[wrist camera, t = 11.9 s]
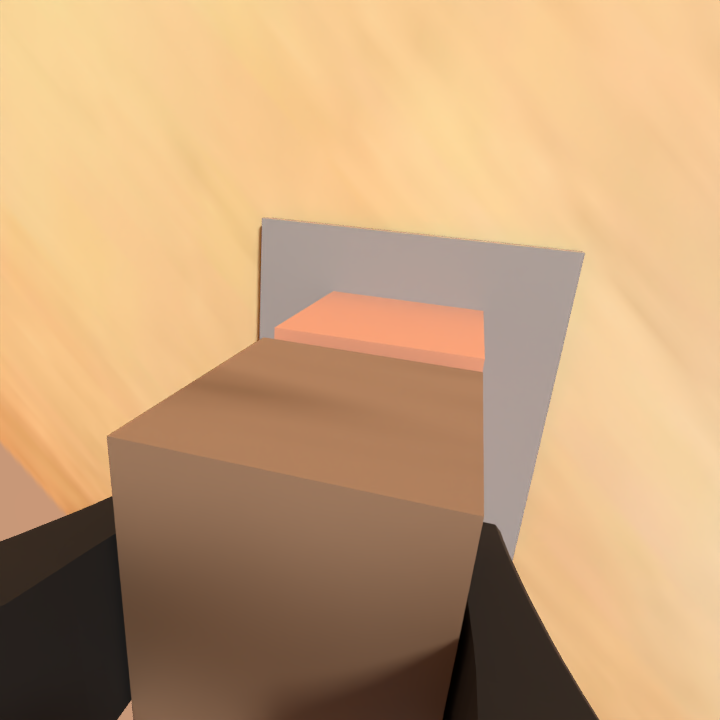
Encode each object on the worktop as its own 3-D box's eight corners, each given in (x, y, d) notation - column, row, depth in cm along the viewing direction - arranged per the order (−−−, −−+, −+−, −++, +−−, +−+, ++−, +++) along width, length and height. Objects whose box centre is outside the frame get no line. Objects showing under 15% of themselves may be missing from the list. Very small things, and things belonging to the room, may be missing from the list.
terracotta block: (452, 492, 16) (442, 597, 12) (321, 466, 17) (267, 555, 12) (483, 310, 14) (484, 358, 10) (333, 291, 15) (274, 327, 10)
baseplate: (511, 554, 16) (511, 562, 16) (260, 498, 18) (256, 504, 18) (581, 251, 13) (584, 253, 13) (267, 217, 15) (262, 217, 14)
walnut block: (437, 618, 11) (411, 868, 7) (257, 572, 12) (138, 770, 8) (482, 372, 9) (484, 517, 5) (263, 337, 10) (107, 435, 6)
